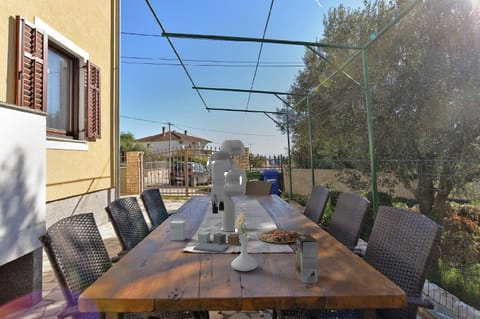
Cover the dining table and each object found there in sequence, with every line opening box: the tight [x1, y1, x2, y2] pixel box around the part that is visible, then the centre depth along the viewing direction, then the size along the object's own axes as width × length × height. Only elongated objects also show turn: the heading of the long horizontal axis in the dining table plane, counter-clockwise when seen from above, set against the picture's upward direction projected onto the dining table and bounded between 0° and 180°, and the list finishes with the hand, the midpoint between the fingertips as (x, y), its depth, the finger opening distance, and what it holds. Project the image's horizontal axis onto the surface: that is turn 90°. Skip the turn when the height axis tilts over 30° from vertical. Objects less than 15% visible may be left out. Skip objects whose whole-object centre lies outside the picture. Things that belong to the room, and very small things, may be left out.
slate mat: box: [193, 243, 229, 253], centre depth 149 cm, size 9×16×1 cm, turn 73°
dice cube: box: [212, 232, 227, 245], centre depth 159 cm, size 5×5×5 cm
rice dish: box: [257, 228, 304, 244], centre depth 168 cm, size 28×28×5 cm
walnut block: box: [227, 233, 241, 246], centre depth 157 cm, size 6×5×5 cm
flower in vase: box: [230, 211, 258, 272], centre depth 120 cm, size 13×11×25 cm
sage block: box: [197, 230, 211, 244], centre depth 162 cm, size 6×5×5 cm
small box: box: [169, 220, 187, 241], centre depth 167 cm, size 8×6×10 cm
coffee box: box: [294, 233, 319, 284], centre depth 111 cm, size 9×6×16 cm
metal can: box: [234, 227, 245, 235], centre depth 168 cm, size 5×5×6 cm
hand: (218, 212), depth 160 cm, fingers open, 9 cm apart
